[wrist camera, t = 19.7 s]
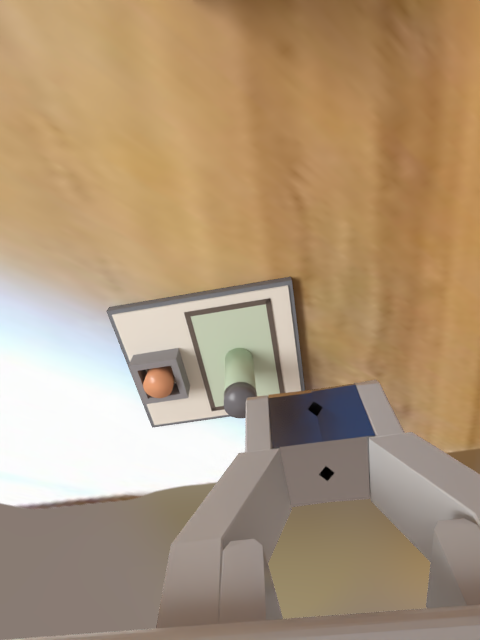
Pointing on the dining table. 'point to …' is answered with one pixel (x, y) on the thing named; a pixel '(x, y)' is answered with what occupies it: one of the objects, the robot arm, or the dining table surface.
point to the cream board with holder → (210, 345)
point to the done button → (159, 382)
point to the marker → (238, 381)
